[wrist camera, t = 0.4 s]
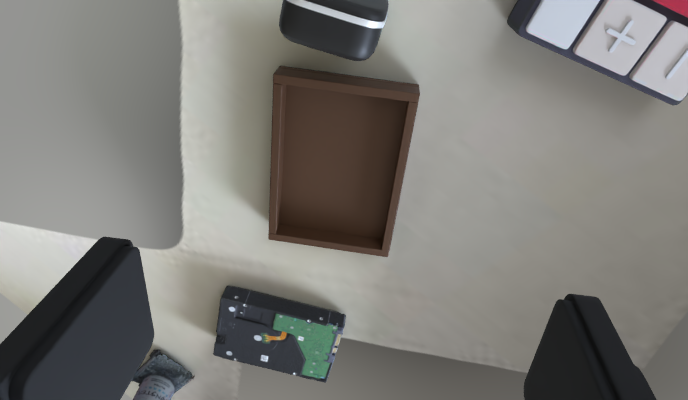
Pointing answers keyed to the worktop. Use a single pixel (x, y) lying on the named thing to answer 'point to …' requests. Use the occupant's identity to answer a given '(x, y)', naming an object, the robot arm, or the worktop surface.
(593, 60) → the calculator
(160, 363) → the grey cylinder on base
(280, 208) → the tray
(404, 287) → the worktop surface
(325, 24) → the battery charger
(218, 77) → the worktop surface
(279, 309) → the disk drive
